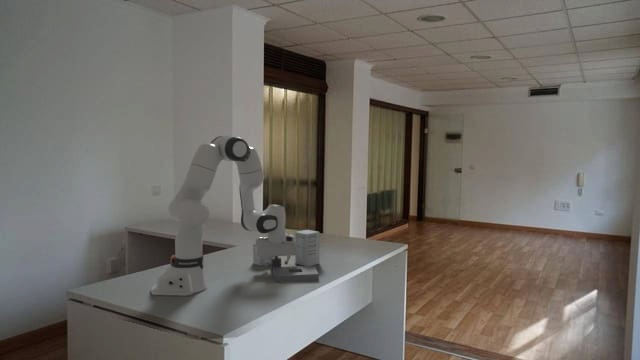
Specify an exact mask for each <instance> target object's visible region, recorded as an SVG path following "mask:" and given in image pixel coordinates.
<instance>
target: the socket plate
mask: <svg viewBox="0 0 640 360" xmlns="http://www.w3.org/2000/svg"><path fill="white" fill-rule="evenodd" d="M272 274H273V278H274V279H273V280H274V282H275V283H292V282H293V283H294V282H295V283H296V282H310V281H311V282H312V281H315V282H316V281H320V277H319V276H320V274H319V271H318V270H317V268H316V266H315V265H311V266H303V265H299V266H297V265H296V266H293V265H292V266H281V267H273V272H272Z"/></svg>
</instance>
